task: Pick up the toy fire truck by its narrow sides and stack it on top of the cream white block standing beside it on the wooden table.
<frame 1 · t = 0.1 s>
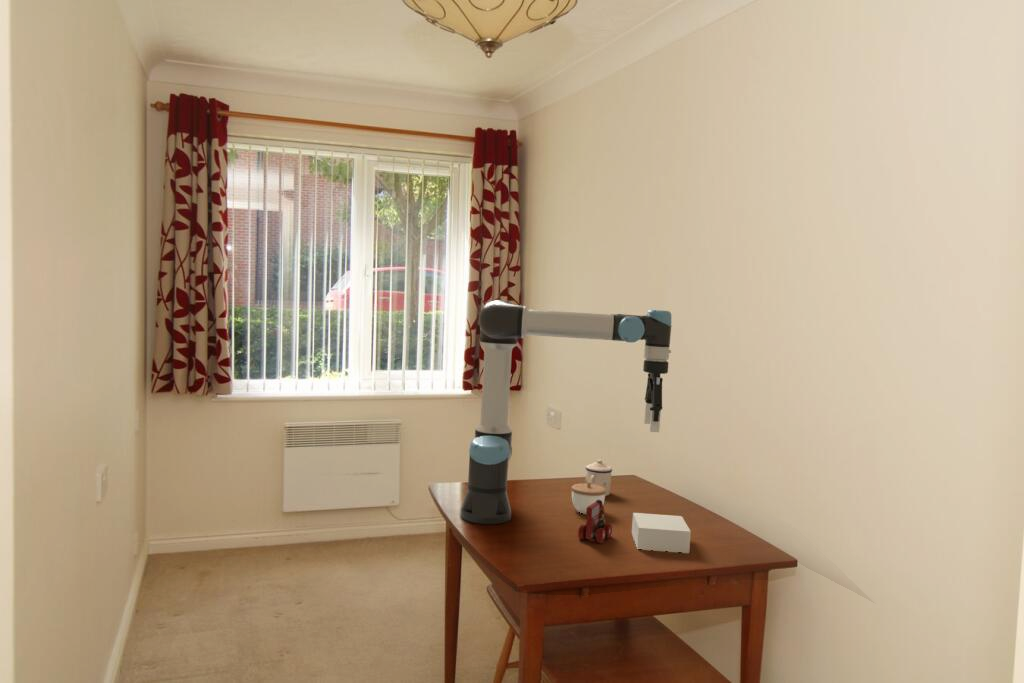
hand: (651, 427, 233), 28 cm above the table, tool pointing down, fingers open, 13 cm apart
toy fire truck: (594, 539, 211), on the table
teacup with lid: (595, 494, 257), on the table
cream white block: (659, 542, 210), on the table
lidded jar: (587, 512, 236), on the table
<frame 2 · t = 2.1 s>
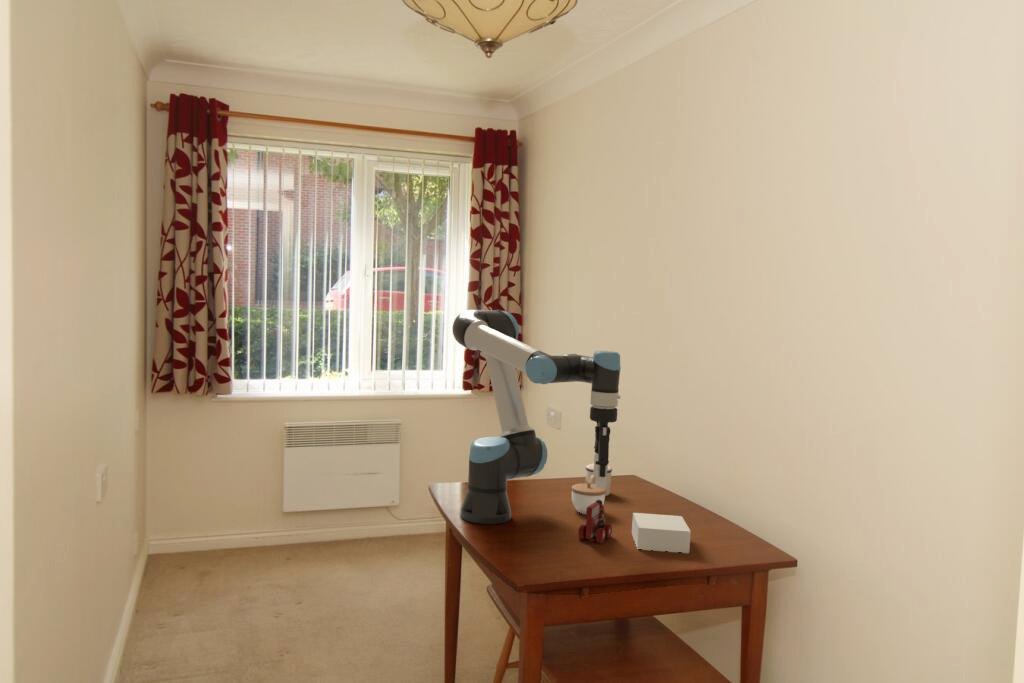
hand: (599, 482, 209), 16 cm above the table, tool pointing down, fingers open, 13 cm apart
nothing on the table moved.
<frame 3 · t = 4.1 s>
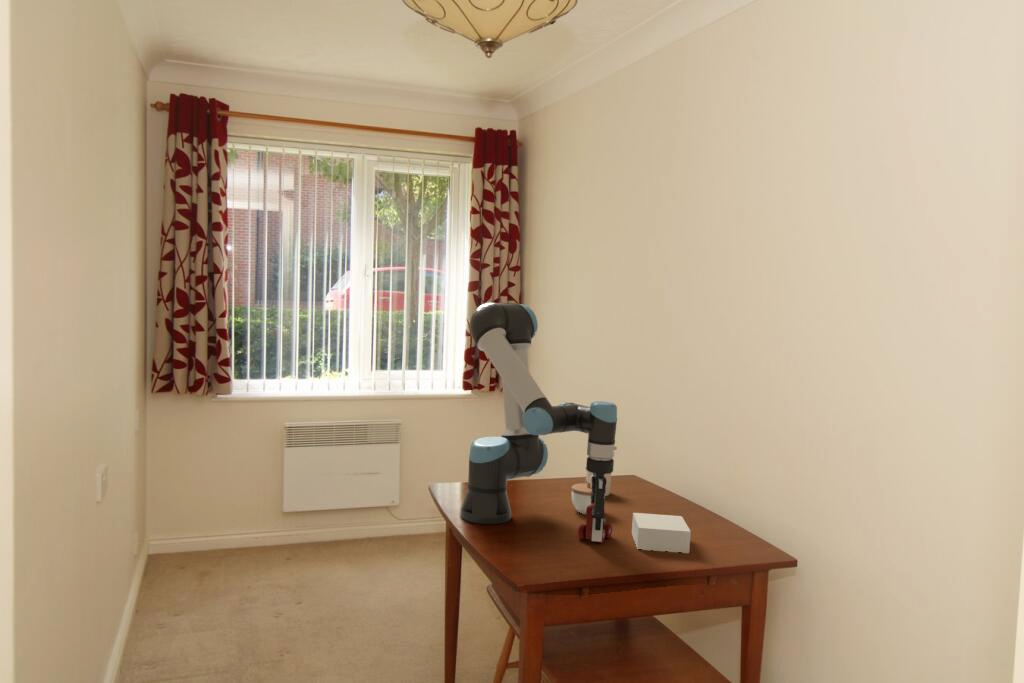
hand: (595, 533, 211), 1 cm above the table, tool pointing down, fingers closed on toy fire truck, 11 cm apart
toy fire truck: (594, 538, 211), on the table, touching gripper
everything else where it was.
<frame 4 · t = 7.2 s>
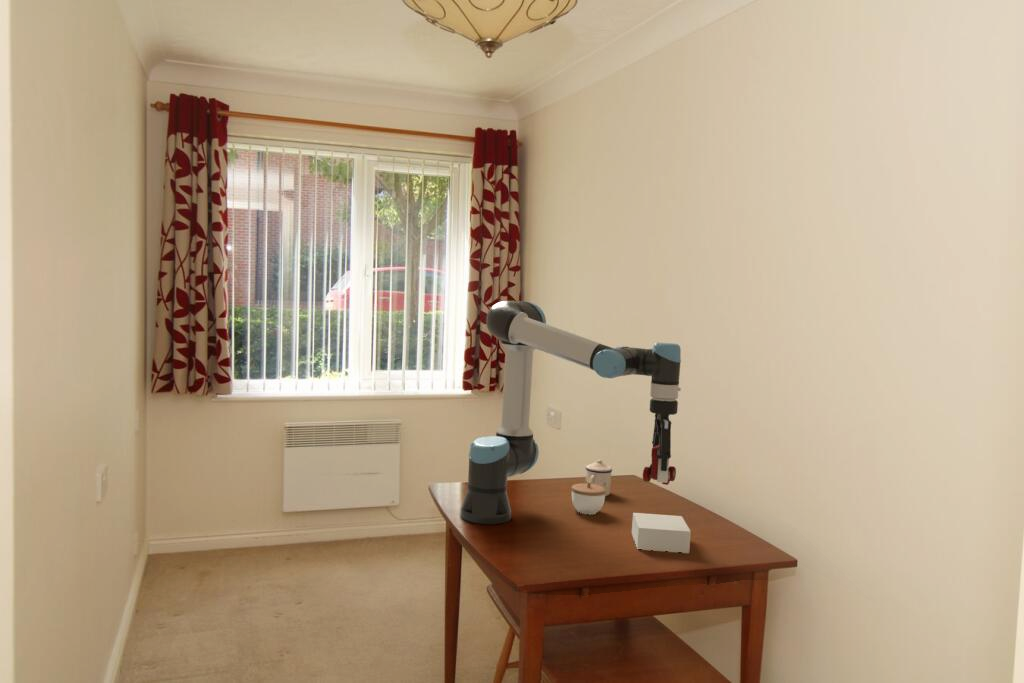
hand: (659, 476, 208), 19 cm above the table, tool pointing down, fingers closed on toy fire truck, 11 cm apart
toy fire truck: (659, 481, 208), point 17 cm above the table, touching gripper
everything else where it was.
when the fingers open (9 cm above the table, at t = 10.1 s): toy fire truck drops 2 cm, resting on cream white block.
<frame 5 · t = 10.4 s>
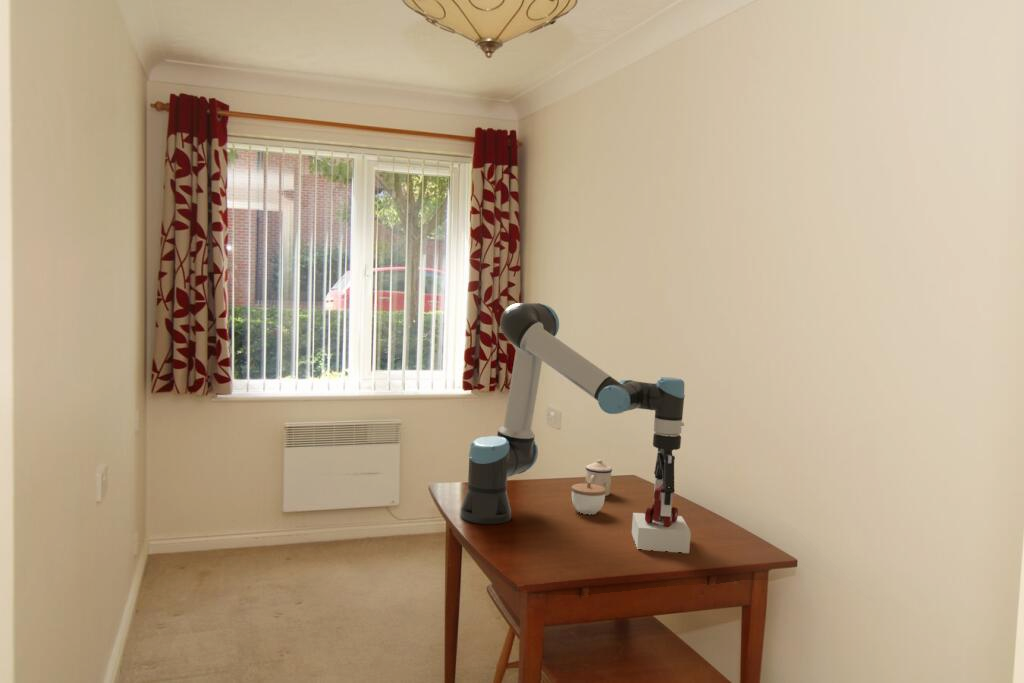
hand: (661, 508, 209), 10 cm above the table, tool pointing down, fingers open, 13 cm apart
toy fire truck: (661, 522, 209), point 6 cm above the table, touching cream white block
everything else where it was.
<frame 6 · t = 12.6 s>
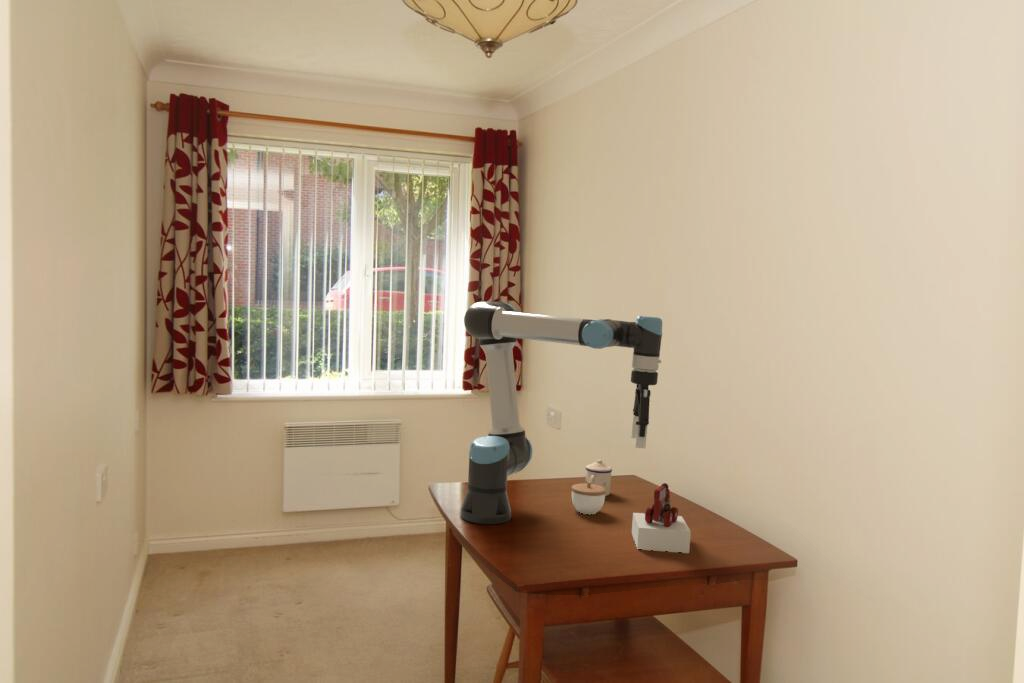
hand: (638, 442, 217), 26 cm above the table, tool pointing down, fingers open, 13 cm apart
nothing on the table moved.
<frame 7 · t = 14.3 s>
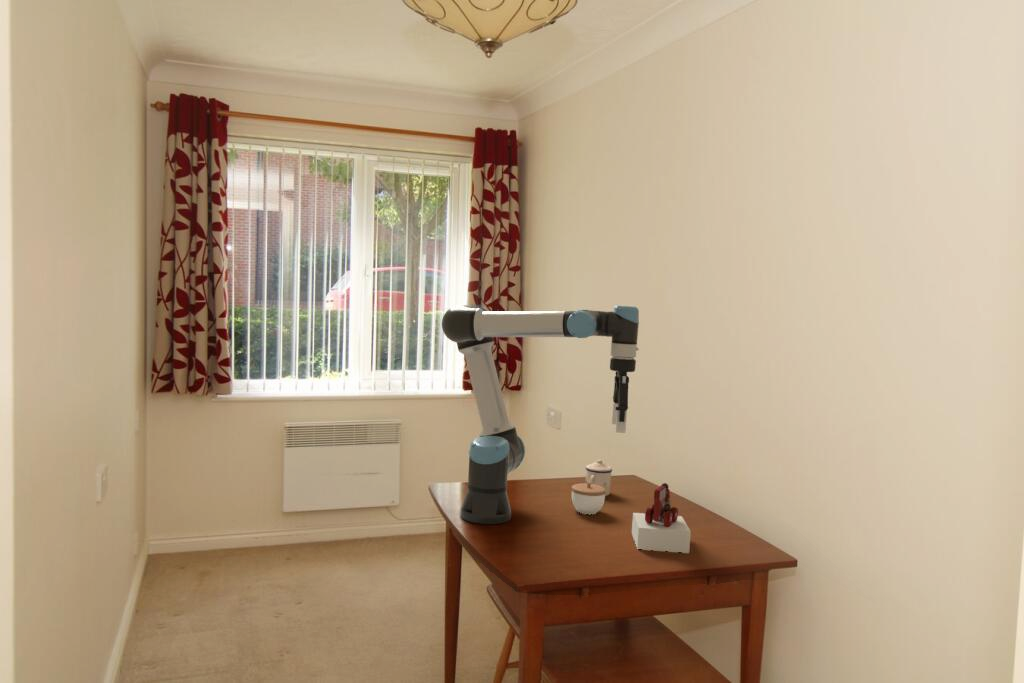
hand: (618, 428, 224), 29 cm above the table, tool pointing down, fingers open, 13 cm apart
nothing on the table moved.
at the end: toy fire truck inside the target area on the cream white block (0.1 cm from its centre), point 5.8 cm above the cream white block's base; toy fire truck tilted 0°; the gripper is holding nothing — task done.
